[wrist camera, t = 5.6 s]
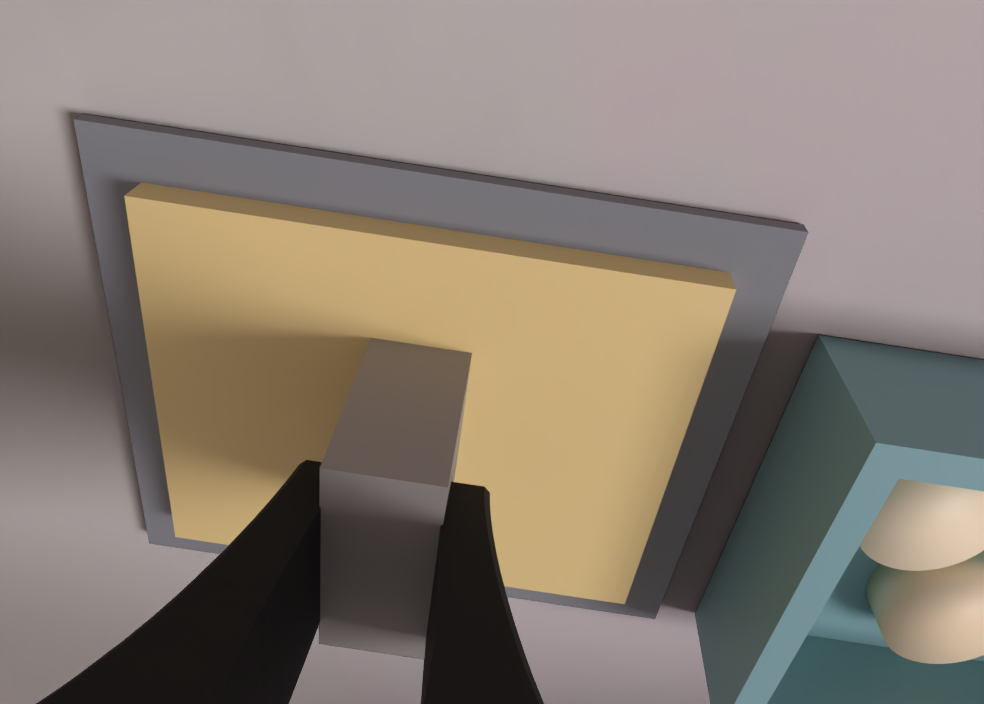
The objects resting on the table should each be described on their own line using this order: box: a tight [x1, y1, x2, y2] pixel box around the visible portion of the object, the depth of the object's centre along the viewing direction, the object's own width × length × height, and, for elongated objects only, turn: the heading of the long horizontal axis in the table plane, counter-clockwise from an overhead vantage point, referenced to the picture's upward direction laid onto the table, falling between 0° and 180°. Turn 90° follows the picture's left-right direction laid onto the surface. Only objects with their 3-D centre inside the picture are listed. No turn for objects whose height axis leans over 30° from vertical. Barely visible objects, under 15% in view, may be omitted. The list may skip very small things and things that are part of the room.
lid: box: [124, 182, 736, 659], centre depth 13 cm, size 10×8×4 cm
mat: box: [73, 114, 808, 619], centre depth 15 cm, size 12×10×1 cm
